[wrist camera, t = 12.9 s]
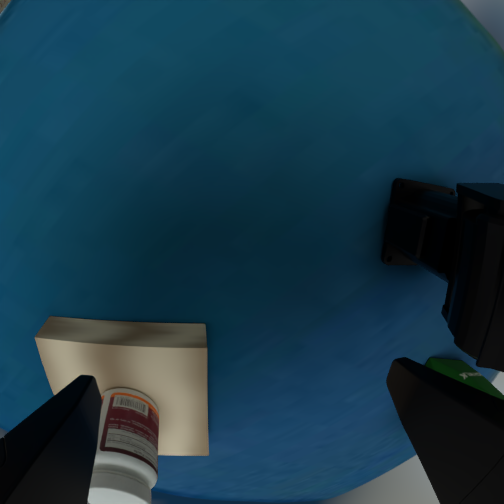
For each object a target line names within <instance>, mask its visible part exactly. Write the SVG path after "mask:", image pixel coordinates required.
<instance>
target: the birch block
mask: <svg viewBox="0 0 504 504" xmlns="http://www.w3.org/2000/svg"><path fill="white" fill-rule="evenodd" d="M35 340H36V344H37V347H38V350H39V354H40V357H41V360H42V363H43V366H44V369H45V372H46V375H47V378H48V380H49V383H50V386H51V388H52V391H53V394H54V395H56V394H57V393H58V392H59V391H61V390H62V389H63V388H64V387H66V386H67V385H68V384H69V383H71V382H72V381H73V380H74V379H76V378H77V377H78V376H80V375H92V376H94V377H95V379H96V382H97V385H98V388H99V391H100V394H101V395H102V394H103V393H104V392H105V391H108V390H111V389H116V388H126V389H131V390H135V391H138V392H140V393H142V394H144V395H146V396H147V397H149V398H150V399H151V400H152V401H153V402H154V404H155V405H156V406H157V408H158V411H159V437H158V455H176V456H208V455H209V448H208V405H207V339H206V326H205V324H189V323H148V322H124V321H106V320H90V319H77V318H65V317H53V316H50V317H49V318H48V319H47V321H46V322H45V323H44V325H43V326H42V328H41V329H40V330H39V332H38V333H37V335H36V336H35Z"/></svg>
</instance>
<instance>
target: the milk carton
mask: <svg viewBox="0 0 504 504" xmlns="http://www.w3.org/2000/svg"><path fill="white" fill-rule="evenodd" d="M425 366H426V367H428V368H431V369H433V370H435V371H437V372H440V373H442V374H444V375H446V376H449V377H451V378H453V379H455V380H458V381H460V382H462V383H465V384H467V385H469V386H472V387H474V388H476V389H479V390H481V391H483V392H486V393H488V394H490V395H493V396H495V397H497V398H500V399H502V400H504V395H503V394H502V393H501V392H500V391H499V390H497V389H496V388H495V387H494V386H493V385H492V384H491V383H490V382H489V381H488V380H487V379H486V378H485V377H483V376H482V375H481V374H480V373H478V372H477V371H476V370H474V369H473V368H472V367H470V366H469V365H467V364H466V363H465V362H463V361H462V360H449V359H438V358H429V360H428V361H427V363H426V364H425Z"/></svg>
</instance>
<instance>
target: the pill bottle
mask: <svg viewBox="0 0 504 504" xmlns="http://www.w3.org/2000/svg"><path fill="white" fill-rule="evenodd" d="M101 398H102V406H101V415H100V424H99V435H98V445H97V451H96V457H95V462H94V467H93V472H92V478H91V483H90V489H89V495H88V502H89V503H90V504H151V490H150V489H151V488H153V487H154V485H155V484H156V482H157V478H158V437H159V411H158V408H157V406H156V405H155V404H154V402H153V401H152V400H151V399H150V398H149V397H147V396H146V395H144V394H142V393H140V392H138V391H135V390H131V389H126V388H116V389H111V390H108V391H105V392H104V393H103V394H102V395H101Z"/></svg>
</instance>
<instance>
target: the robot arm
mask: <svg viewBox="0 0 504 504" xmlns="http://www.w3.org/2000/svg"><path fill="white" fill-rule="evenodd" d="M400 183H401V187H400V188H399V184H400ZM456 192H457V193H458V197H456V196H455V191H454V190H453V189H451V188H447V187H442V186H437V185H432V184H427V183H422V182H417V181H412V180H406V179H401V178H397V179H396V180H395V181H394V183H393V190H392V198H391V205H390V208H389V215H388V221H387V227H386V233H385V241H384V247H383V252H382V257H381V260H382V262H383V263H385V264H386V265H420V266H421V267H423V268H425V269H426V270H428V271H430V272H431V273H433V274H434V275H436V276H438V277H439V278H441V279H443V280H444V281H446V282H447V283H448V288H447V294H446V299H445V304H444V305H443V307H442V312H441V313H442V315H443V317H444V318H445V320H446V322H447V323H448V328H449V329H450V331H451V333H452V334H453V336H454V337H455V338H454V343H455V344H456V346H457V347H459V348H460V349H461V350H462V351H463V352H465V353H467V354H468V355H469V356H471V357H472V358H474V359H476V360H477V361H476V366H478V367H483V368H491V369H495V370H498V371H501V372H504V184H500V183H457V189H456ZM449 194H450V195H449ZM388 256H389V259H388V260H387V257H388ZM386 383H387V387H388V389H389V392H390V395H391V397H392V400H393V402H394V405H395V408H396V410H397V413H398V416H399V418H400V421H401V423H402V425H403V427H404V429H405V431H406V433H407V435H408V437H409V439H410V441H411V443H412V445H413V447H414V449H415V451H416V453H417V455H418V457H419V459H420V461H421V463H422V466H423V468H424V470H425V472H426V474H427V476H428V478H429V480H430V482H431V485H432V487H433V489H434V491H435V493H436V496H437V498H438V500H439V502H440V504H504V400H502V399H500V398H497V397H495V396H493V395H490V394H488V393H486V392H483V391H481V390H479V389H476V388H474V387H472V386H469V385H467V384H465V383H462V382H460V381H458V380H455V379H453V378H451V377H449V376H446V375H444V374H442V373H440V372H437V371H435V370H433V369H431V368H428V367H426V366H424V365H422V364H420V363H417V362H415V361H413V360H411V359H408V358H406V357H402V358H397V359H395V360H394V361H393V362H392V365H391V367H390V370H389V373H388V376H387V380H386ZM101 406H102V398H101V394H100V391H99V388H98V385H97V382H96V379H95V377H94V376H92V375H80V376H78V377H77V378H76V379H74V380H73V381H72V382H71V383H69V384H68V385H67V386H66V387H64V388H63V389H62V390H61V391H59V392H58V393H57V394H56V395H54V396H53V397H52V398H51V399H49V400H48V401H47V402H46V403H44V404H43V405H42V406H41V407H39V408H38V409H37V410H36V411H34V412H33V413H32V414H31V415H29V416H28V417H27V418H26V419H24V420H23V421H22V422H21V423H19V424H18V425H17V426H16V427H14V428H13V429H12V430H11V431H10V432H8V433H7V434H6V435H5V436H4V438H1V439H0V504H87V502H88V495H89V489H90V483H91V478H92V472H93V467H94V462H95V457H96V451H97V445H98V435H99V424H100V415H101Z"/></svg>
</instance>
